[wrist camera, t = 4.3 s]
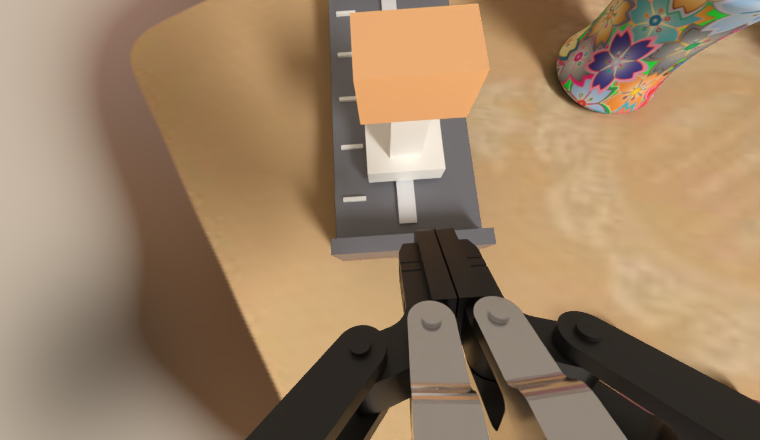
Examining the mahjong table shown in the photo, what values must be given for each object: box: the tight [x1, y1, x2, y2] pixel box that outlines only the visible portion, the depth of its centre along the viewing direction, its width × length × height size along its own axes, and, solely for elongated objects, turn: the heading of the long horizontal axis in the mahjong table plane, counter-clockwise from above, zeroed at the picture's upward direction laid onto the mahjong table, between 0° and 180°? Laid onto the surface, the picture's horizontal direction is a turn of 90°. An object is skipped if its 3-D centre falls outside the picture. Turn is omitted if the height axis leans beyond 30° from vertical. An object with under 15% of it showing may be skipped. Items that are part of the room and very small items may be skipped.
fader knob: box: [350, 4, 490, 183], centre depth 15 cm, size 4×5×10 cm
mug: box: [556, 0, 760, 114], centre depth 20 cm, size 12×9×11 cm
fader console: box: [329, 0, 496, 261], centre depth 22 cm, size 24×10×5 cm, turn 4°
